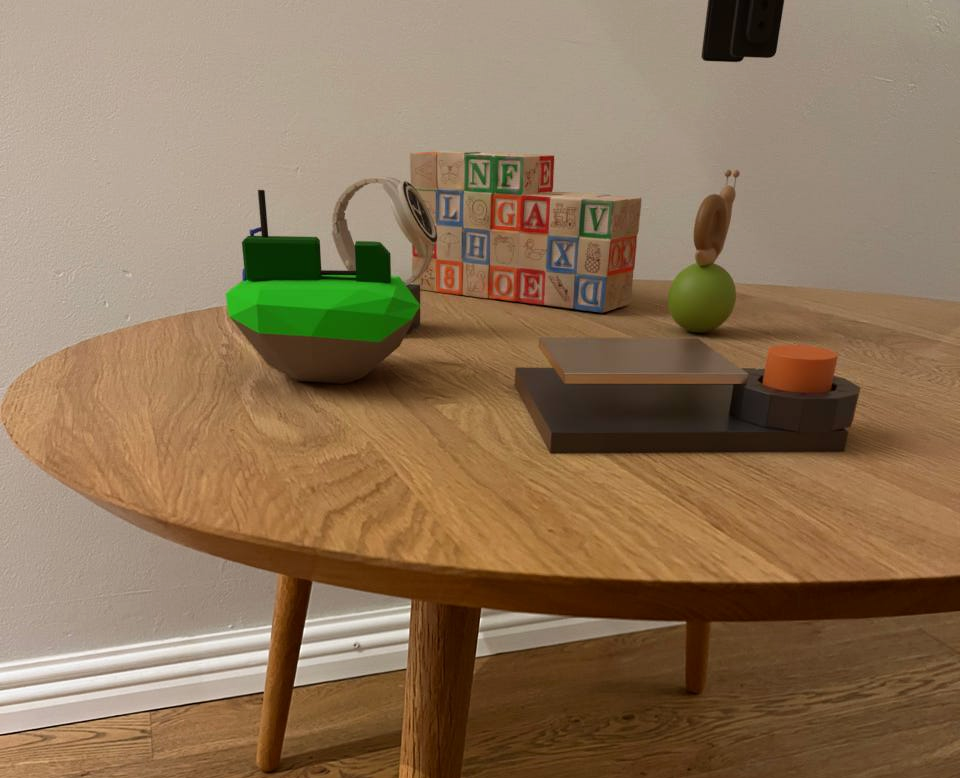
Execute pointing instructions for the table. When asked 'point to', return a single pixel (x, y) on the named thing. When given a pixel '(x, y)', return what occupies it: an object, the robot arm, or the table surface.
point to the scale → (685, 416)
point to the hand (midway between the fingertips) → (736, 56)
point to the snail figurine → (706, 269)
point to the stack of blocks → (523, 232)
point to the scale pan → (639, 361)
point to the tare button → (800, 368)
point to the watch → (409, 218)
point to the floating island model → (318, 307)
